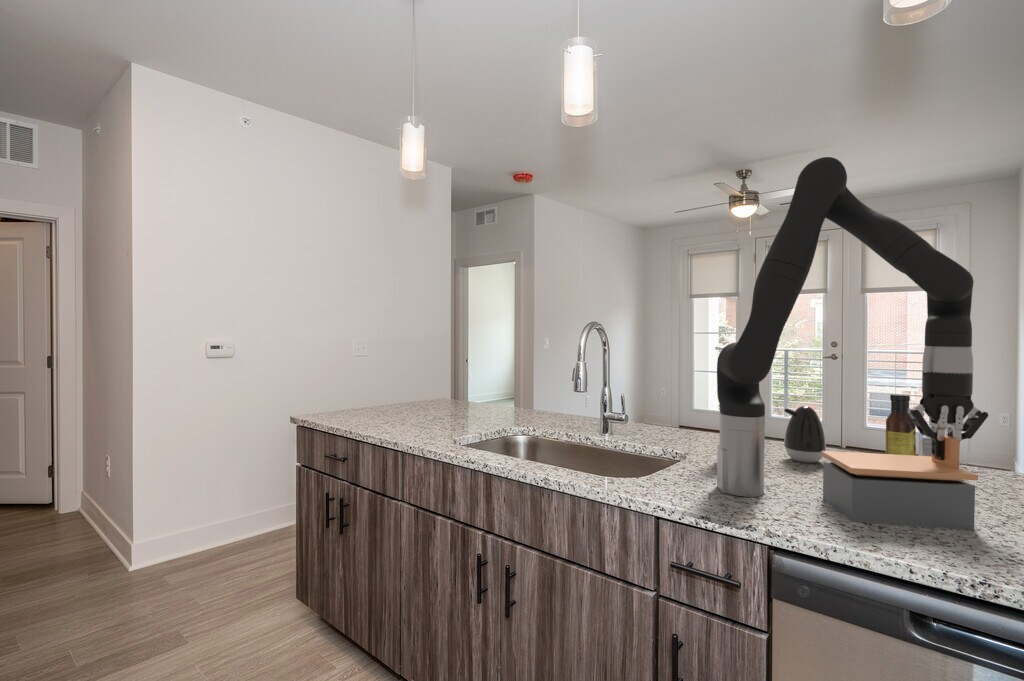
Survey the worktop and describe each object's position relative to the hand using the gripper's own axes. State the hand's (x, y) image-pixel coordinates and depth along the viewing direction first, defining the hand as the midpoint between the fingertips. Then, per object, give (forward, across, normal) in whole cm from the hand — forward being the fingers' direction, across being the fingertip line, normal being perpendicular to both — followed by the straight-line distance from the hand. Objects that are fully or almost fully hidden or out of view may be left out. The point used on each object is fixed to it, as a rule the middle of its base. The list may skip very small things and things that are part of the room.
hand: (945, 459), depth 102 cm
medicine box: (+11, -19, -41) cm, 47 cm away
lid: (+2, +9, 0) cm, 9 cm away
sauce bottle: (+11, -9, -35) cm, 38 cm away
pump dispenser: (+11, +11, -43) cm, 46 cm away
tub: (+11, +9, 0) cm, 14 cm away
